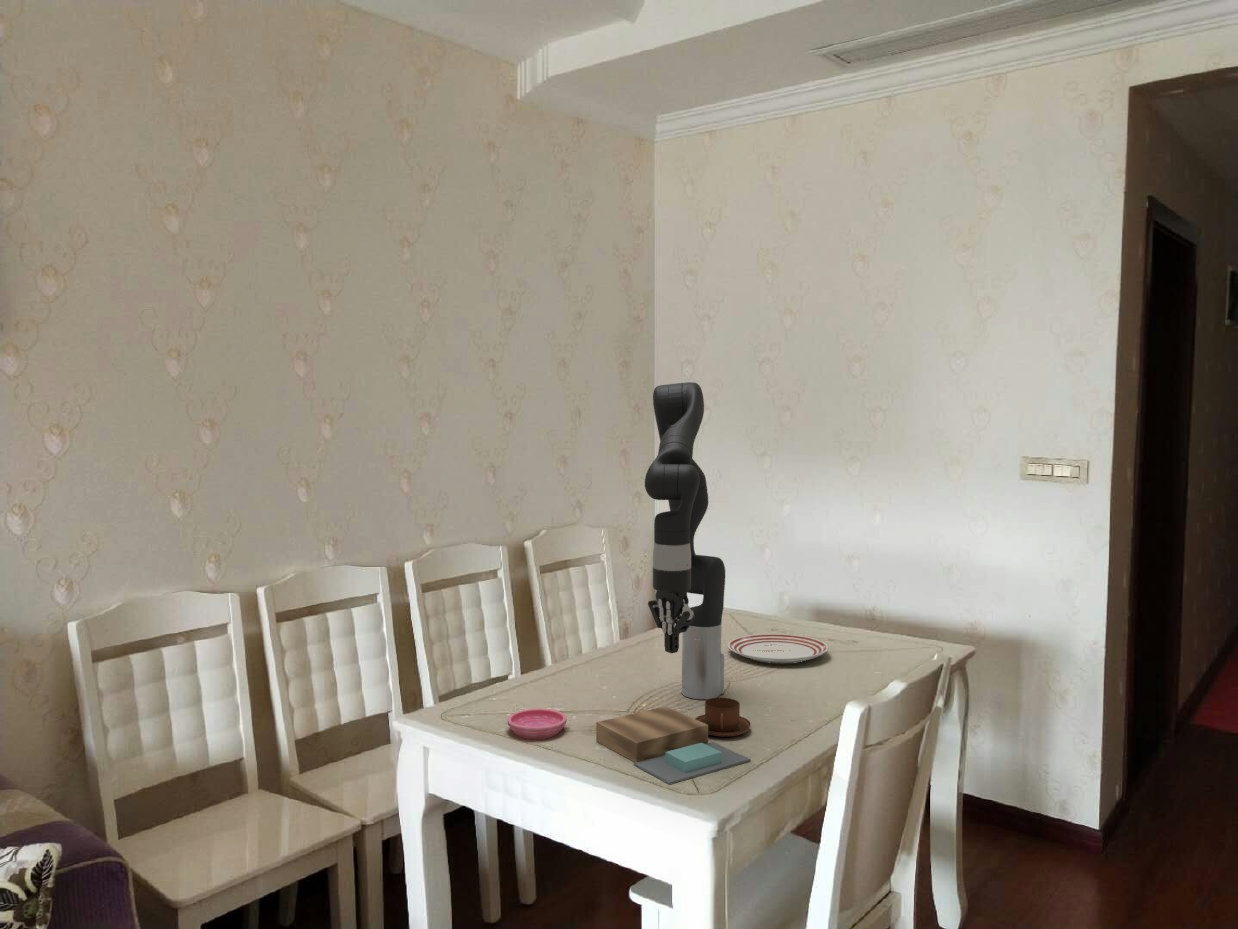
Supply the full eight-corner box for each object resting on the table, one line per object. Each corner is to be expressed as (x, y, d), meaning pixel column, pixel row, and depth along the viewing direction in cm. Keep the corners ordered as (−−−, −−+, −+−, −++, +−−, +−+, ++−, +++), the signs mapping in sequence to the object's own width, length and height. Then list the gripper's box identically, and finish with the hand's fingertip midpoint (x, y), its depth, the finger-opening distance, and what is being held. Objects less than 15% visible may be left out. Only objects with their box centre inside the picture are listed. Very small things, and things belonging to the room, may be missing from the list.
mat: (713, 744, 191) (713, 742, 191) (750, 761, 182) (750, 759, 182) (633, 765, 180) (633, 763, 180) (669, 784, 171) (669, 782, 171)
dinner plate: (715, 662, 251) (715, 650, 251) (742, 639, 277) (742, 628, 276) (817, 675, 241) (818, 662, 241) (836, 649, 266) (836, 637, 266)
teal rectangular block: (721, 752, 180) (721, 762, 180) (701, 742, 185) (701, 752, 185) (684, 762, 175) (684, 772, 175) (665, 752, 180) (665, 762, 180)
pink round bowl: (496, 729, 199) (496, 715, 199) (545, 718, 206) (545, 704, 206) (527, 747, 189) (527, 732, 189) (578, 734, 197) (578, 719, 196)
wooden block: (665, 724, 202) (665, 706, 202) (707, 744, 191) (708, 725, 191) (596, 741, 192) (596, 722, 192) (636, 763, 181) (636, 743, 180)
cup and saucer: (758, 739, 194) (759, 710, 194) (703, 743, 192) (703, 714, 191) (739, 720, 206) (739, 692, 206) (686, 723, 204) (687, 695, 203)
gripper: (708, 568, 181) (707, 656, 182) (665, 558, 192) (665, 641, 193) (678, 573, 177) (677, 663, 178) (636, 562, 187) (636, 647, 189)
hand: (671, 651), depth 185 cm, fingers closed
